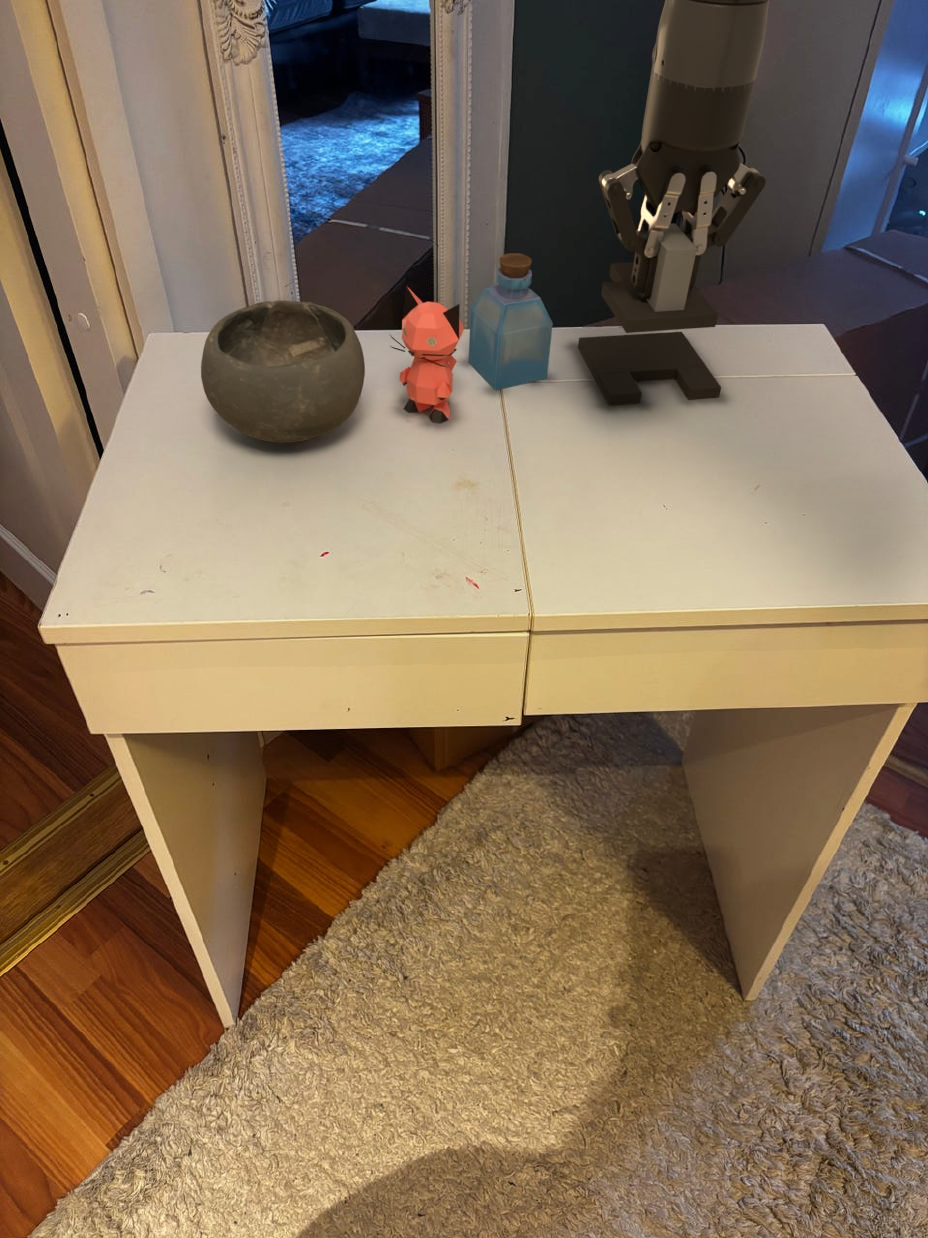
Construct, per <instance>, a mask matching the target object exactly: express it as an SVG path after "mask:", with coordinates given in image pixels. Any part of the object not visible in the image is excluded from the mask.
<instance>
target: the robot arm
mask: <svg viewBox="0 0 928 1238" xmlns="http://www.w3.org/2000/svg"><path fill="white" fill-rule="evenodd" d="M770 1H771V0H665V1H664V4H663V5H664V6H663V8H662V10H661V11H662V12H661V14H660V19H659V23H658V27H657V33H656V39H655V44H654V47H653V49H652V54H651V61H652V64H651V71H650V76H649V83H648V90H647V96H646V103H645V108H644V116H643V122H642V130H641V140H640V143H639V145H638V148H637V150H636V151H635V152H634V154H633V156H632V159H631V163H630V164H627V165H626V166H624V167H622V168H620V169H618V170H616V171H615V172H612V170H609V169H607V170H605V169H604V170H603V171H602V172H601V173H600V174H599V176H598V183H599V186H600V190H601V193H602V196H603V198H604V203H605V205H606V208H607V211H608V214H609V217H610V220H611V224H612V227H613V229H614V233H615V236H616V238H617V239H618V240H619V242H620V244H622V246H623V248H624V249H625V250H626V251H628V252H634V257H633V262H634V263H633V269H632V275H631V283H632V286H633V287H634V289H635V290H636V292H637V293H638V295H639V296H640V297H641V299H650V298H651V294H652V288H653V283H654V278H655V272H656V267H657V261H658V257H657V256H656V255H657V253H658V251H659V248H660V245H661V242H662V239H663V236H664V232H665V231H666V230H668V228H669V226H670V224H672V220H673V216H674V214H677V213H680V212H681V215H682V229H681V231H682V232H683V233H684V234H685V235H686V236H687V237H688V239H689V240H690V241H691V242H692V243H693V244H694V246H695V247H696V248H697V251H696V256H695V261H694V265H693V270H692V275H691V279H690V284H689V289H688V290H692V288H693V286H694V285H695V286H696V281H697V276H698V271H699V267H700V263H701V258H702V255H703V254H704V253H705V252H706V250H707V249H709V248H711V247H714V246H716V247H717V248H721V247H724V246H725V245H726V244H727V243H728V242H729V240H730V238H731V237H732V236H733V234H734V233H735V231H736V230H737V228H738V227H739V225H740V224H741V222H742V221H743V220H744V218H745V216H746V215H747V214H748V212H749V210H750V209H751V207H752V206H753V205H754V204H755V201H756V200H757V199H758V197H759V196H760V194H761V193H762V191H763V190H764V188H765V186H766V184H767V182H766V178H765V177H764V176H763V175H762V174H761V173H760V172H759V171H758V170H757V169H756V168H754V167H753V166H752V165H749V164H745V165H744V164H743V163H742V162H741V161H742V159H741V155H740V149H739V146H740V145H739V144H740V142H741V140H742V138H743V136H744V131H745V127H746V123H747V118H748V113H749V110H750V105H751V102H752V96H753V92H754V87H755V84H756V79H757V75H758V71H759V70H758V69H759V65H760V62H761V57H762V53H763V49H764V43H765V39H766V32H767V25H768V24H767V23H768V16H769V15H768V14H769V7H770ZM636 181H638V184H639V186H640V188H641V190H642V192H643V193H644V198H643V202H642V205H641V209H640V221H639V224H638V228H637V229H636V226H635V222H634V219H633V216H632V212H631V209H630V206H629V202H628V201H629V200H631V199H632V196H633V194H634V188H633V187H634V185H635V183H636ZM726 185H727V190H726V192H725V194H724V195H723V197H722V198H721V199H720V201H719V202H718V203H717V205H716V207H715V209H713V207H714V199H715V198H716V197H717V196H718V195H719V193H720V192H721V191H723V189H724V188H725V186H726Z"/></svg>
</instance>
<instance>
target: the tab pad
mask: <svg viewBox="0 0 928 1238" xmlns="http://www.w3.org/2000/svg"><path fill="white" fill-rule="evenodd" d="M696 251H697V248H696V247H695V246H694V244H693V243H692V242H691V241H690V240H689V239H688V237H687V236H686V235H685V234H684V233H683V232H682V229H681V228H680V227H679V225H677V223H670V226H669V228H668V230H666V231H665V232H664V236H663V239H662V242H661V245H660V248H659V251H658V253H657V255H656V256H657V257H658V261H657V267H656V272H655V278H654V283H653V288H652V294H651V298H650V299H641V297H640V296H639V295H638V293H637V292H636V290H635V289H634V287H633V286H632V283H631V275H632V269H633V263H634V261H633V262H630V261H629V262H615V263H610V269H609V274H608V275H609V278H610V279H611V281H604V282H602V285H601V286H602V287H601V294H600V295H601V297H602V299H603V300H604V302H605V303H606V305H607V306H608V307H609V309H610V311H611V312H612V314H613V315H614V317H615V318H616V320H617V322H618V323H619V325H620V326H621V327H622V329H623V331H624V332H625V334H635V333H648V332H661V331H662V332H663V331H675V330H676V331H677V330H691V329H704V328H705V329H707V328H715V327H716V325H717V321H718V317H719V313H718V312H717V310H716V309H715V308H714V307H713V306H712V304H711V303H710V302H709V301H708V300H707V299H706V297H705V296H704V295H703V293H702V292H701V290H699V289H698V288H697V286H696V284H695V285H694V286H693V288H692V290H688V289H689V284H690V279H691V275H692V270H693V265H694V261H695V256H696Z"/></svg>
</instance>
